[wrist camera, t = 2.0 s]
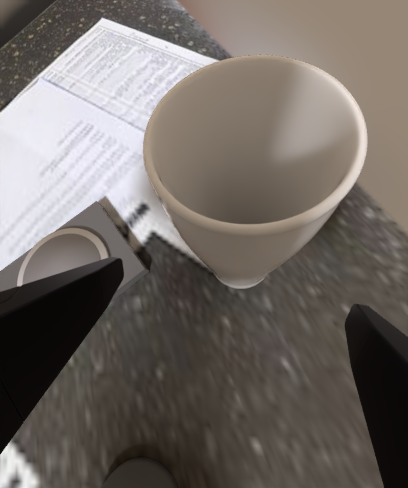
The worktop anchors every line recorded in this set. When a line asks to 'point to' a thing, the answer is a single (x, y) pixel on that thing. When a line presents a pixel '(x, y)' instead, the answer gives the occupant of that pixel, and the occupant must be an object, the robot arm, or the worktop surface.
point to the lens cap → (140, 475)
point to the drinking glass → (253, 160)
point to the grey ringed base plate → (76, 251)
